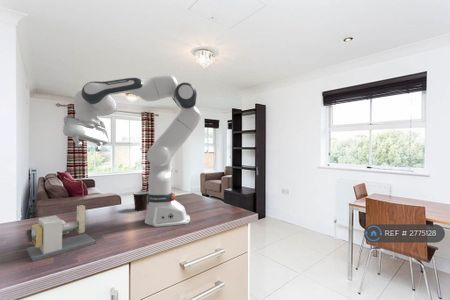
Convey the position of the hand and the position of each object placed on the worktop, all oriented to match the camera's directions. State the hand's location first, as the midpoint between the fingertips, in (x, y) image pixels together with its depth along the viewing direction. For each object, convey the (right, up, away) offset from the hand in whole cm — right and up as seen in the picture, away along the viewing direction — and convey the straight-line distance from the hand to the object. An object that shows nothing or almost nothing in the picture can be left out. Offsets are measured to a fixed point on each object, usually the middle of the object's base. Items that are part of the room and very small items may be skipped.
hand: (89, 148), depth 99 cm
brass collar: (-3, -33, -24) cm, 41 cm away
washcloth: (-15, -37, -3) cm, 40 cm away
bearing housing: (+1, -36, -18) cm, 40 cm away
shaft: (+1, -32, -19) cm, 37 cm away
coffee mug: (+10, -37, +32) cm, 50 cm away
